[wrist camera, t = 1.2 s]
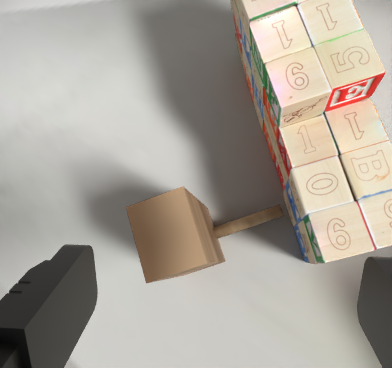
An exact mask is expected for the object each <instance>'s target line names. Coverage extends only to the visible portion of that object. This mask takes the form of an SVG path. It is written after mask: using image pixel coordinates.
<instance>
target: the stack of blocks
mask: <svg viewBox="0 0 392 368" xmlns="http://www.w3.org/2000/svg"><path fill="white" fill-rule="evenodd" d="M231 7H232V10H233V14H234V21H235V28H236V34H235V35H236V41H237V46H238V52H239V55H240V58H241V61H242V65H243V68H244V71H245V77H246V80H247V84H248V87H249V90H250V93H251V96H252V100H253V103H254V106H255V110H256V113H257V116H258V120H259V123H260V126H261V129H262V132H263V133H264V134H265V137H266V141H267V143H268V147H269V150H270V153H271V156H272V159H273V162H274V163H275V166H276V170H277V173H278V176H279V179H280V182H281V185H282V189H283V197H284V200H285V203H286V206H287V210H288V213H289V216H290V219H291V222H292V225H293V227H294V230H295V233H296V236H297V239H298V243H299V246H300V249H301V252H302V255H303V258H304V261H305V262H307V263H313V264H317V263H327V262H331V261H335V260H339V259H343V258H347V257H351V256H354V255H358V254H362V253H366V252H370V251H374V250H376V249H380V248H384V247H388V246H392V145H391V143H390V142H389V139H388V135H387V133H386V131H385V128H384V126H383V124H382V121H381V119H380V117H379V115H378V113H377V110H376V108H375V106H374V104H373V103H372V101H371V100H370V99H369V97H370V96H371V95H372V94H373V93H374V91H375V89H376V87H377V86H378V85H379V83H380V81H381V80H382V78H383V77H384V75H385V69H384V67H383V65H382V62H381V60H380V58H379V56H378V54H377V52H376V50H375V48H374V45H373V43H372V41H371V39H370V36H369V34H368V32H367V30H366V29H364V27H363V24H362V22H361V19H360V17H359V15H358V13H357V11H356V8H355V7H354V5H353V2H352V0H231Z"/></svg>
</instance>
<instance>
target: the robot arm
mask: <svg viewBox="0 0 392 368" xmlns="http://www.w3.org/2000/svg"><path fill="white" fill-rule="evenodd" d="M96 302H97V281H96V272H95V262H94V253H93V249H92V247H91V246H90V245H64V246H62V248H61V249H60V250H59V251H58V252H57V253H56V254H55V255H54V257H53V258H52V259H51V260H45V261H43V262H42V263H40V264H38V265H37V266H35V267H33V268H31V269H30V270H29V271H28V272H27V273H26V274H25V275H24V276H23V277H22V278H21V279H20V280H19V282H18V284H17V283H16V284H15V285H14V286H13V288H12V289H11V290H10V291H9V293H7V294H6V295H5V296H4V297H3V298H2V299H1V300H0V368H64V366H65V365H66V362H67V361H68V359H69V357H70V355H71V353H72V351H73V349H74V348H75V346H76V344H77V342H78V340H79V338H80V336H81V334H82V332H83V330H84V329H85V327H86V325H87V323H88V321H89V319H90V317H91V315H92V313H93V311H94V309H95V306H96ZM357 311H358V318H359V322H360V325H361V327H362V329H363V331H364V333H365V335H366V336H367V338H368V340H369V342H370V344H371V346H372V348H373V350H374V352H375V354H376V355H377V357H378V359H379V361H380V363H381V365H382V367H383V368H392V258H388V257H368V258H367V259H366V261H365V265H364V270H363V275H362V281H361V286H360V292H359V298H358V304H357Z"/></svg>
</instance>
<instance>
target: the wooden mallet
mask: <svg viewBox="0 0 392 368" xmlns="http://www.w3.org/2000/svg"><path fill="white" fill-rule="evenodd" d="M126 209H127V213H128V217H129V221H130V224H131V228H132V232H133V236H134V239H135V243H136V247H137V251H138V254H139V258H140V262H141V266H142V269H143V273H144V277H145V281H146V283H150V282H155V281H159V280H164V279H169V278H174V277H178V276H183V275H186V274H189V273H192V272H195V271H198V270H201V269H204V268H207V267H210V266H213V265H216V264H219V263H222V262H225V259H224V256H223V253H222V250H221V247H220V244H219V241H218V238H220V237H223V236H226V235H229V234H232V233H235V232H238V231H241V230H244V229H247V228H250V227H253V226H256V225H259V224H261V223H264V222H267V221H270V220H273V219H276V218H279V217H282V216H284V215H283V212H282V209H281V207H280V205H277V206H274V207H271V208H268V209H266V210H263V211H260V212H257V213H254V214H251V215H248V216H245V217H242V218H239V219H237V220H234V221H231V222H228V223H225V224H222V225H219V226H216V227H214V226H213V223H212V220H211V217H210V214H209V211H208V208H207V207H206V206H205V205H204V204H202V203H201V202H200V201H199V200H198V199H197V198H196V197H194V196H193V195H192V194H191V193H190V192H189V191H188V190H187V189H185V188H184V187H180V188H177V189H175V190H172V191H169V192H166V193H164V194H161V195H158V196H155V197H152V198H150V199H147V200H144V201H141V202H139V203H136V204H133V205H130V206H128V207H126Z"/></svg>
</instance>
